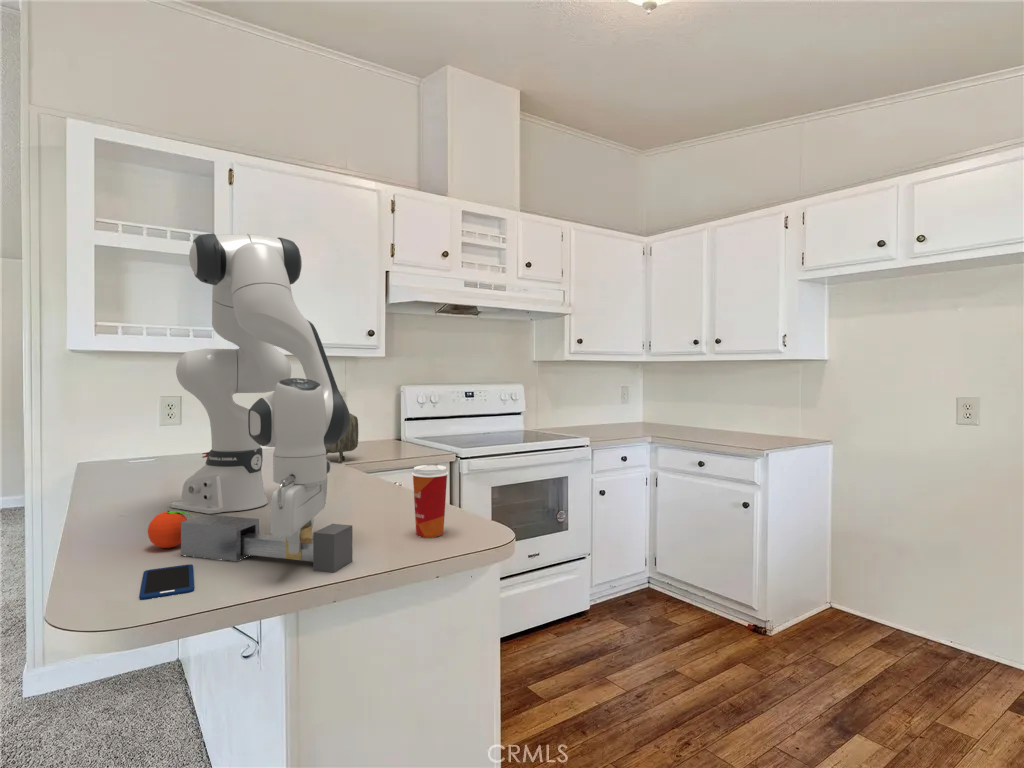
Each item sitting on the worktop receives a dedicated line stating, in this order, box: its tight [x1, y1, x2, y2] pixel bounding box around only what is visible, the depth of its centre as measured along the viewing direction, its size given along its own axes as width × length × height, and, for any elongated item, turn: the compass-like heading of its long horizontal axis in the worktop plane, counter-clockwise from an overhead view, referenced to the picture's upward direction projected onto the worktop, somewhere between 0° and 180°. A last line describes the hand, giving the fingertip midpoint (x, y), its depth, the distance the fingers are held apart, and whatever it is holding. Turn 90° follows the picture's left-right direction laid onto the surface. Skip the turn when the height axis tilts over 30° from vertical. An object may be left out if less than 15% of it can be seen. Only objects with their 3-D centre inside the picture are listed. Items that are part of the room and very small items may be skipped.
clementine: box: [147, 510, 193, 549], centre depth 114 cm, size 8×7×7 cm
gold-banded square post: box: [240, 525, 313, 562], centre depth 106 cm, size 19×3×5 cm, turn 75°
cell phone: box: [138, 563, 196, 601], centre depth 95 cm, size 7×14×1 cm, turn 29°
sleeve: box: [180, 514, 260, 562], centre depth 109 cm, size 12×6×6 cm, turn 75°
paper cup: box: [411, 464, 449, 538], centre depth 123 cm, size 8×8×14 cm
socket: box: [312, 523, 353, 573], centre depth 103 cm, size 4×6×6 cm, turn 165°
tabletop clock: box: [324, 394, 359, 464], centre depth 218 cm, size 14×9×25 cm, turn 49°
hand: (300, 547), depth 105 cm, fingers closed on gold-banded square post, 4 cm apart
